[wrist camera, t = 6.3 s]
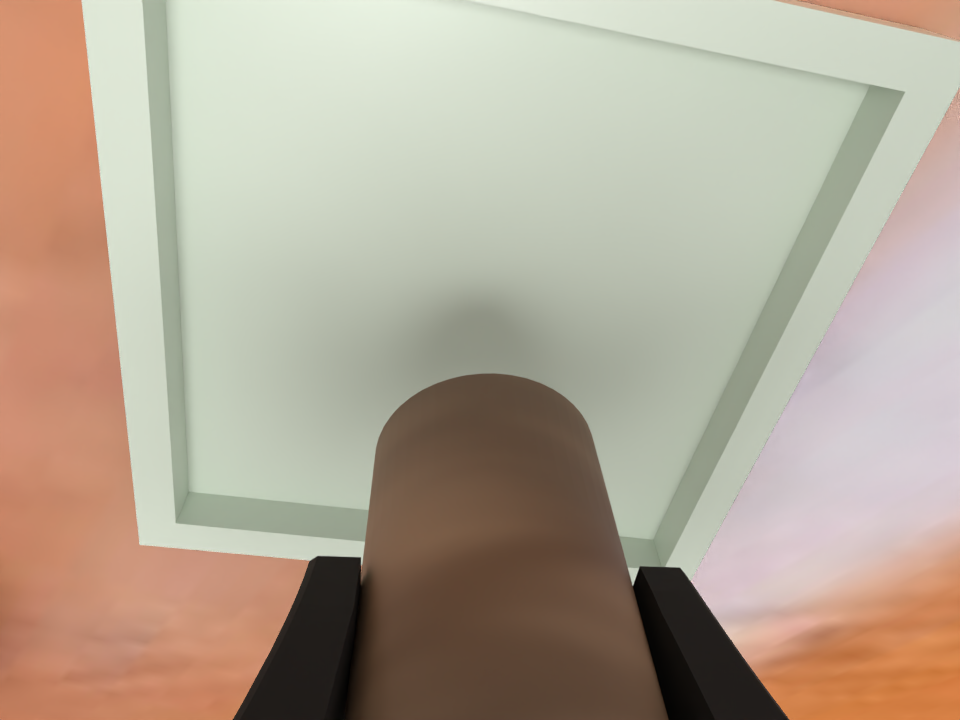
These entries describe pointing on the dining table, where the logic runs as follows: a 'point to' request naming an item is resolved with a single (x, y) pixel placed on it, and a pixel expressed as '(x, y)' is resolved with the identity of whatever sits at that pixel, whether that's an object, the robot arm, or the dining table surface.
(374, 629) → the pin
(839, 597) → the dining table surface
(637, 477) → the tray
